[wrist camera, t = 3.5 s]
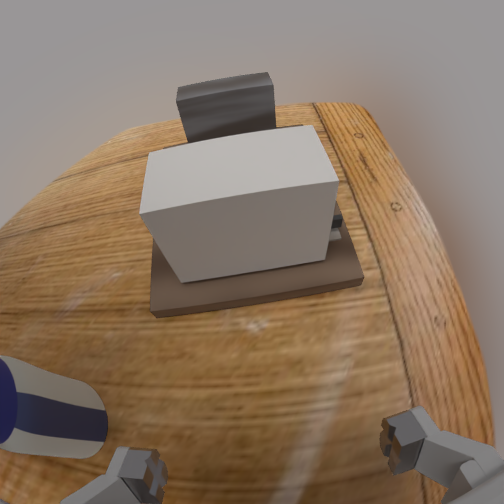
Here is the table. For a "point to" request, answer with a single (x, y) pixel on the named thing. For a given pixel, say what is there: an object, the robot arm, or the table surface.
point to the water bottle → (48, 413)
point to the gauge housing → (241, 202)
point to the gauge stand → (258, 282)
